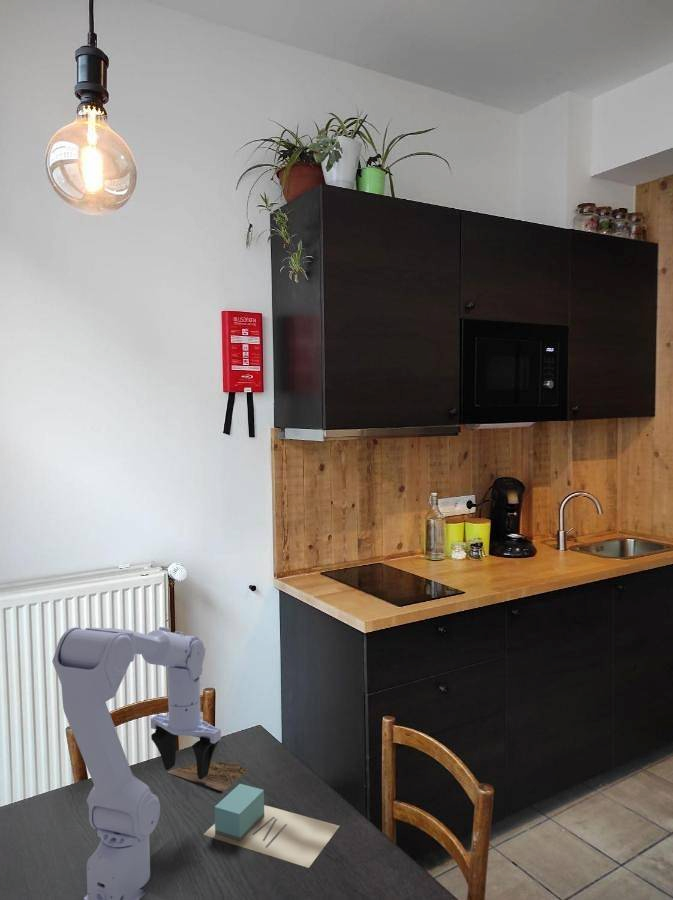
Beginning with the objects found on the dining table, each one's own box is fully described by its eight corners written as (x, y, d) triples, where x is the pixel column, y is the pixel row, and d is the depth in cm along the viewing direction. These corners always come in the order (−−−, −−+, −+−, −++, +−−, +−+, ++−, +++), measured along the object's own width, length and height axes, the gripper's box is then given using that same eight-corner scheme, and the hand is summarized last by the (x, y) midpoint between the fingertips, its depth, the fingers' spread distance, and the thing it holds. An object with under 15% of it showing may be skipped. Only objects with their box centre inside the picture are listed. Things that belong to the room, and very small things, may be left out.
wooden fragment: (293, 774, 140) (293, 770, 140) (272, 804, 129) (272, 799, 129) (184, 757, 148) (184, 753, 148) (157, 784, 137) (156, 779, 137)
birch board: (308, 876, 109) (308, 867, 109) (203, 842, 118) (203, 834, 118) (339, 834, 120) (339, 825, 120) (241, 805, 129) (240, 798, 128)
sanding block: (240, 841, 115) (239, 814, 115) (215, 834, 118) (214, 806, 117) (264, 816, 123) (263, 790, 122) (240, 809, 125) (239, 783, 125)
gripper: (229, 698, 123) (231, 769, 124) (167, 685, 129) (169, 753, 130) (206, 714, 117) (208, 789, 118) (142, 700, 123) (144, 771, 124)
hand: (186, 771), depth 124 cm, fingers open, 7 cm apart
